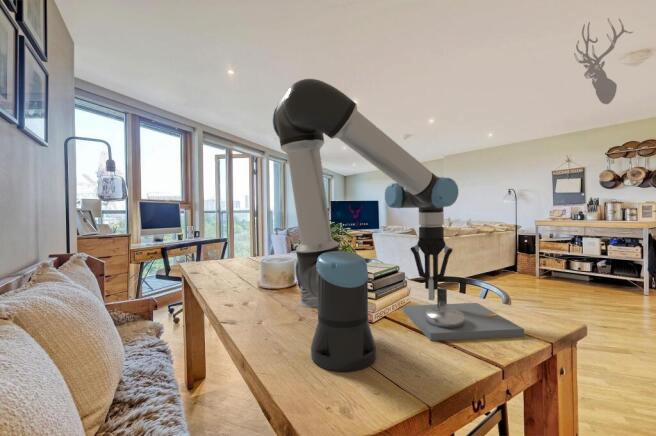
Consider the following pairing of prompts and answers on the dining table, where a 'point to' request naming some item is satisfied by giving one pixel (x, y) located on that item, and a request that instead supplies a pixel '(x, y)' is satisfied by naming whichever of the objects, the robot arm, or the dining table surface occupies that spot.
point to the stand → (465, 323)
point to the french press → (308, 299)
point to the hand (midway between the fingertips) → (431, 299)
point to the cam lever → (444, 313)
